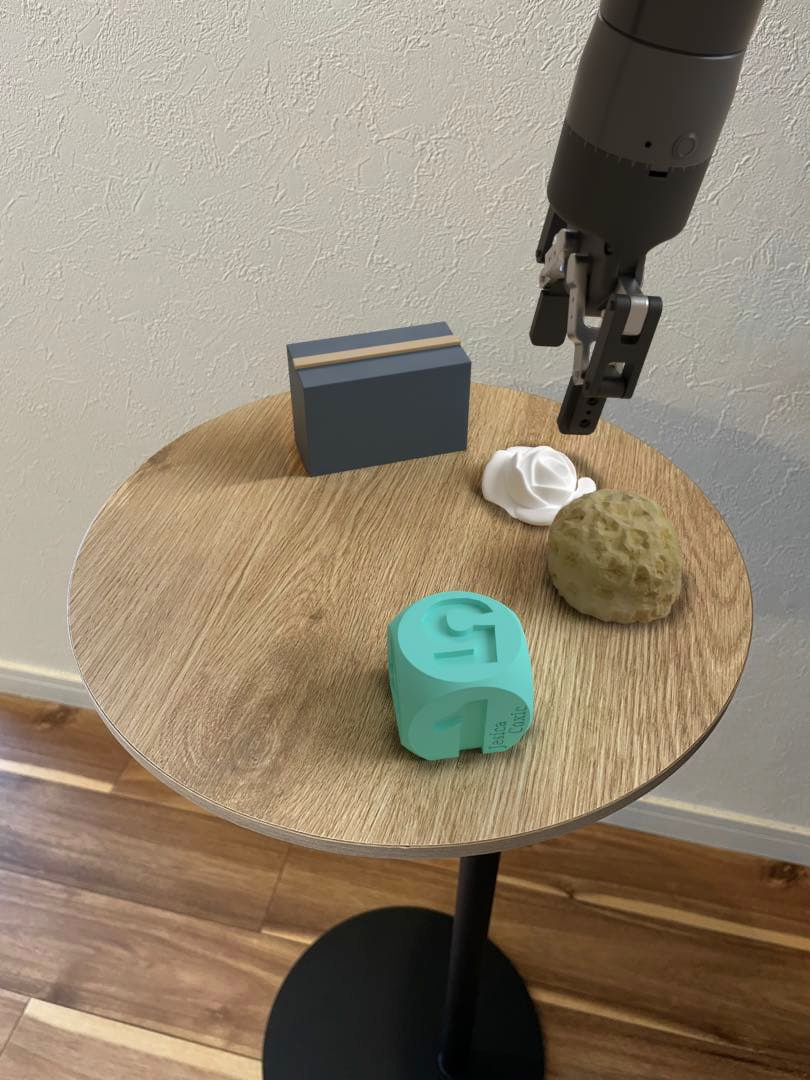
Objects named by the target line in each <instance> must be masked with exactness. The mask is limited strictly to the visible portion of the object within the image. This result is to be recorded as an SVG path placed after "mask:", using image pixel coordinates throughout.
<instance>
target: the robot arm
mask: <svg viewBox="0 0 810 1080" xmlns="http://www.w3.org/2000/svg"><path fill="white" fill-rule="evenodd" d="M765 2H766V0H600V2H599V6H598V10H597V13H596V15H595V19H594V22H593V24H592V27H591V30H590V33H589V35H588V36H587V37H588V38H587V40H586V42H585V44H584V47H583V50H582V52H581V55H580V58H579V61H578V66H577V69H576V73H575V76H574V79H573V84H572V88H571V92H570V96H569V100H568V103H567V108H566V111H565V116H564V118H563V119H564V120H563V122H562V127H561V131H560V134H559V139H558V142H557V146H556V150H555V154H554V157H553V162H552V165H551V169H550V172H549V177H548V181H547V183H546V184H547V185H546V197H547V201H548V204H549V205H548V208H547V212H546V216H545V219H544V222H543V226H542V230H541V233H540V237H539V240H538V243H537V246H536V250H535V253H534V254H535V255H534V256H535V262H536V264H542V265H544V266H543V267H542V268H541V269H540V272H539V274H538V286H539V289H540V293H539V296H538V299H537V303H536V307H535V309H534V310H535V311H534V313H533V317H532V320H531V321H532V322H531V326H530V329H529V332H528V336H529V340H530V343H531V345H533V346H535V347H545V348H558V347H561V346H562V345H564V343H565V341H566V337H567V338H568V340H569V341H571V342H572V343H573V344H574V352H573V365H572V372H571V375H570V378H569V381H568V383H567V384H568V385H567V386H566V387H567V388H566V390H565V393H564V397H563V400H562V403H561V406H560V409H559V412H558V415H557V418H556V425H557V428H558V432H559V433H560V434H561V435H568V436H589V435H592V434H593V433H594V432H596V428H597V426H598V424H599V421H600V419H601V416H602V414H603V410H604V408H605V405H606V402H607V400H608V399H621V400H630V399H632V398H633V396H634V394H635V391H636V387H637V384H638V381H639V379H640V376H641V373H642V370H643V368H644V365H645V362H646V359H647V357H648V353H649V350H650V348H651V345H652V342H653V339H654V336H655V333H656V330H657V328H658V325H659V322H660V319H661V318H662V317H661V316H662V313H663V309H664V303H663V299H662V297H661V296H658V295H647V294H644V292H643V291H642V288H643V287H644V282H645V269H646V261H647V255H648V253H649V252H650V251H651V250H652V249H654V248H656V247H657V246H659V245H661V244H664V243H665V242H668V241H670V240H672V239H674V238H676V237H677V236H678V235H680V234H681V232H682V231H683V230H684V229H685V227H686V226H687V224H688V221H689V218H690V216H691V212H692V210H693V207H694V205H695V202H696V201H697V200H696V199H697V197H698V195H699V192H700V189H701V186H702V184H703V181H704V178H705V176H706V173H707V171H708V168H709V166H710V163H711V161H712V158H713V154H714V152H715V149H716V147H717V144H718V142H719V139H720V137H721V134H722V131H723V128H724V125H725V123H726V120H727V117H728V115H729V112H730V110H731V107H732V104H733V101H734V98H735V95H736V92H737V89H738V84H739V79H740V75H741V71H742V67H743V62H744V60H745V56H746V53H747V49H748V45H749V44H750V41H751V39H752V36H753V34H754V31H755V29H756V25H757V23H758V21H759V19H760V15H761V12H762V10H763V7H764V4H765ZM555 237H556V241H555V242H554V240H555ZM585 317H589V318H601V324H600V326H596V327H595V326H590V325H589V324H588V323H587V322H586V320H585ZM592 343H594V346H593V350H592V353H591V345H592ZM590 355H591V356H590Z"/></svg>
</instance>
